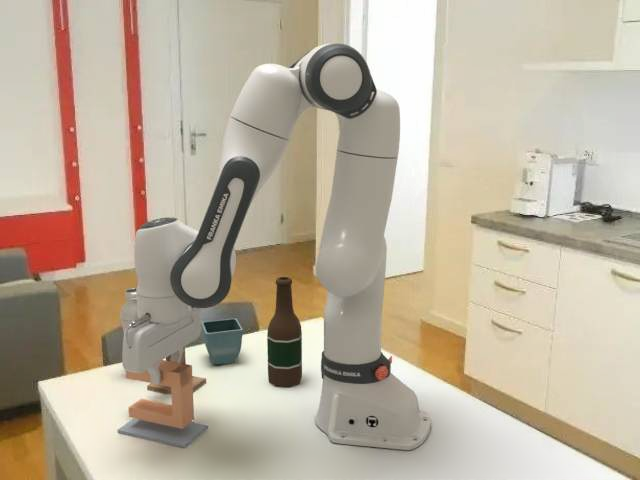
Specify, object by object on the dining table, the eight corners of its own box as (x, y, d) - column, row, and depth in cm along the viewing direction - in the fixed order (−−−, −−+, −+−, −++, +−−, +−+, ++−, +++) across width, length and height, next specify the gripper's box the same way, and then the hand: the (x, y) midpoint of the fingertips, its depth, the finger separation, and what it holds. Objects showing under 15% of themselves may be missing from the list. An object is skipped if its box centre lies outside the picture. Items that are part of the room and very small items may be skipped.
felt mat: (207, 427, 126) (207, 425, 126) (184, 448, 119) (184, 445, 119) (143, 414, 132) (143, 411, 132) (117, 432, 124) (117, 429, 124)
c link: (194, 419, 124) (191, 365, 122) (182, 428, 121) (179, 373, 118) (142, 407, 129) (138, 355, 126) (129, 416, 125) (125, 363, 123)
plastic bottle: (150, 379, 148) (144, 295, 143) (120, 379, 148) (114, 294, 143) (157, 367, 154) (152, 286, 150) (129, 367, 154) (123, 286, 150)
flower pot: (202, 355, 161) (200, 321, 159) (237, 351, 164) (236, 317, 162) (207, 369, 153) (205, 333, 151) (244, 365, 156) (243, 329, 154)
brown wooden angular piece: (206, 382, 146) (204, 333, 144) (156, 419, 129) (153, 365, 127) (168, 375, 150) (166, 327, 147) (115, 411, 133) (111, 357, 130)
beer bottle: (280, 370, 152) (279, 271, 147) (308, 378, 148) (308, 276, 143) (261, 383, 146) (258, 280, 141) (290, 391, 142) (288, 285, 137)
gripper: (141, 326, 109) (145, 403, 112) (206, 293, 127) (208, 359, 130) (110, 321, 111) (115, 396, 114) (178, 289, 130) (181, 354, 133)
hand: (165, 376), depth 122 cm, fingers closed on c link, 4 cm apart
